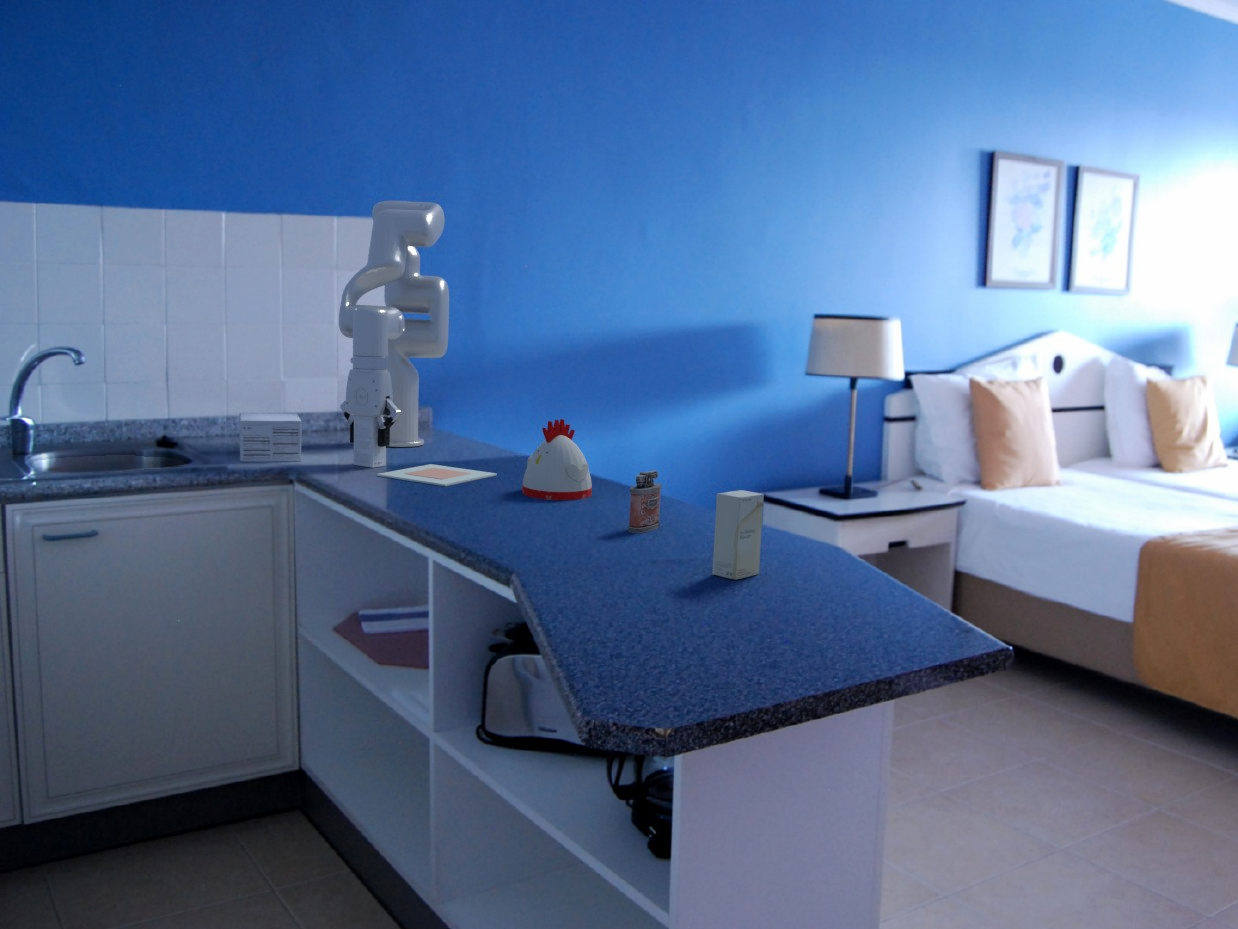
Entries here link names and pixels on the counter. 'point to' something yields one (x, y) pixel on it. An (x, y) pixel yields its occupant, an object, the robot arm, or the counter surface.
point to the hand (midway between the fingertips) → (369, 443)
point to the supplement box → (269, 437)
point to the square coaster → (437, 475)
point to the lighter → (645, 503)
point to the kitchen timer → (557, 467)
